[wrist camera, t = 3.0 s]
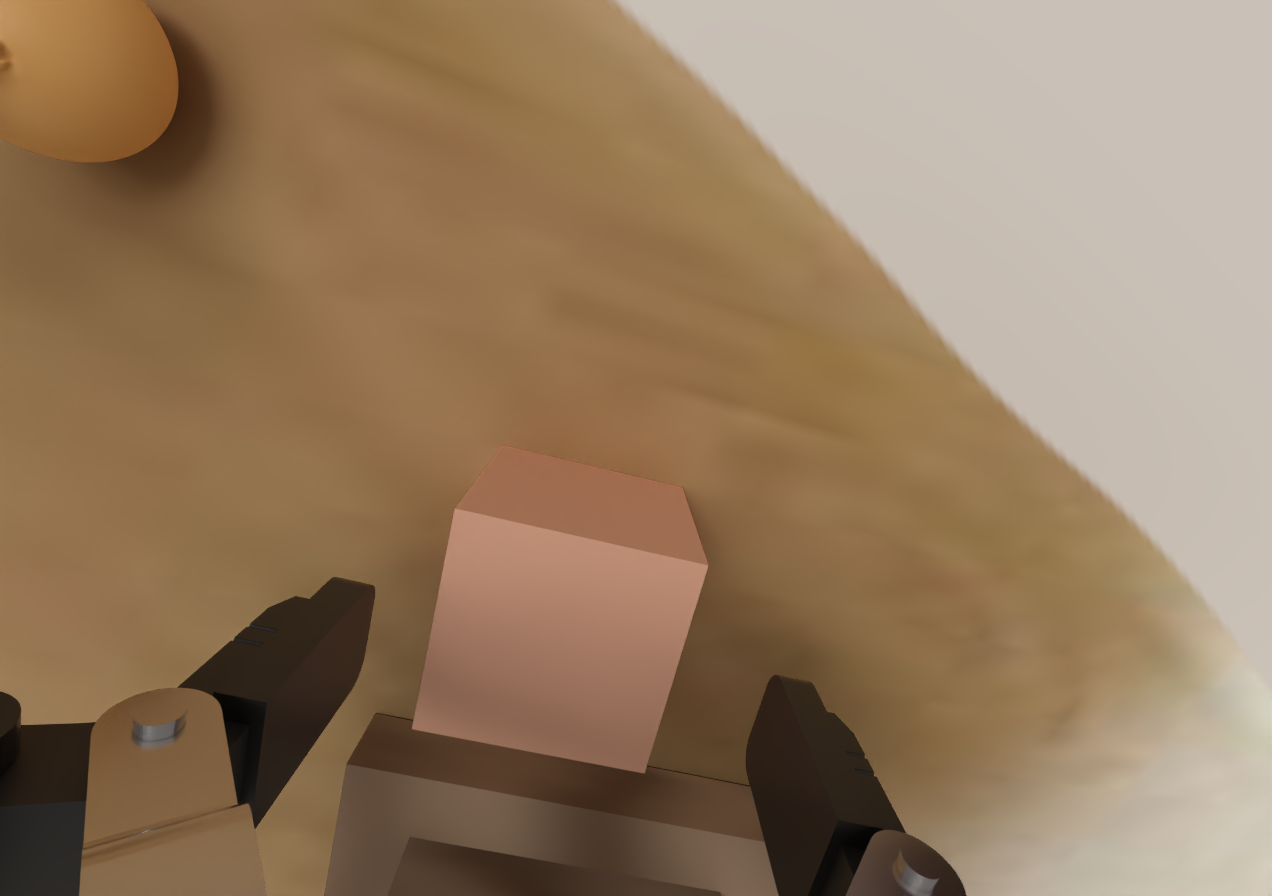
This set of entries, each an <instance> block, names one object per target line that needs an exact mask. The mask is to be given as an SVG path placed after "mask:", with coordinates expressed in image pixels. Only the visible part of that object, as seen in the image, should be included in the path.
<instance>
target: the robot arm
mask: <svg viewBox="0 0 1272 896" xmlns="http://www.w3.org/2000/svg"><path fill="white" fill-rule="evenodd" d="M374 599H375V587H374V586H373V585H370V584H365V583H360V582H356V581H351V580H347V579H342V578H338V577H333V578H331V579H330V580H329V581H328V582H327V583H326V584H325V585H324V586H323V587H322V588H321V589H320V590H319V591H318V592H317V593H315V594H314V595H313V596H312V597H311V598H310V599H307V598H302V597H297V596H295V597H293V598H290V599H288V600H286V601H283V602H281V603H278V604H276V605H274V606H271V607H269V608H268V609H267V610H265V611H264V612H263V613H262V614H261V615H260V616H259V617H257V618H256V619H255V620H254V621H253V622H252V623H251V624H250V626H249V627H246V628H245V629H244V630H243V631H241V632H240V633H239V634H238V635H237V636H236V637H235V638H234V641H230V642H229V643H228V644H226V645H225V646H224V647H223V648H222V649H221V650H220V651H218V652H217V653H216V654H215V655H214V656H213V657H212V658H210V659H209V660H208V661H207V662H206V663H205V664H204V665H202V666H201V667H200V668H199V669H198V670H197V671H196V672H194V673H193V674H192V675H191V676H190V677H189V678H188V679H186V680H185V681H184V682H183V683H182V684H181V685H180V686H178V687H177V688H166V689H158V690H153V691H148V692H145V693H141V694H138V695H135V696H133V697H130V698H128V699H126V700H124V701H122V702H120V703H118V704H116V705H115V706H113V707H111V708H110V709H108V710H107V711H106V712H105V713H104V714H103V715H101V717H100V718H99V719H98V720H97V721H96V722H93V723H76V724H45V725H21V707H20V704H19V702H18V701H17V700H16V699H15V698H14V697H12V696H11V695H9V694H6V693H4V692H0V896H267V892H266V887H265V882H264V876H263V871H262V866H261V860H260V855H259V850H258V844H257V839H256V834H255V828H256V827H257V826H258V824H259V823H260V821H261V820H262V818H263V817H264V815H265V814H266V813H267V811H268V810H269V808H270V807H271V805H272V804H273V803H274V801H275V800H276V798H277V797H278V795H279V794H280V792H281V791H282V790H283V788H284V787H285V785H286V784H287V782H288V781H289V779H290V778H291V777H292V775H293V774H294V772H295V771H296V769H297V768H298V766H299V765H300V764H301V762H302V761H303V759H304V758H305V756H306V755H307V753H308V752H309V751H310V749H311V748H312V746H313V745H314V743H315V742H316V740H317V739H318V738H319V736H320V735H321V733H322V732H323V730H324V729H325V727H326V726H327V725H328V723H329V722H330V720H331V719H332V717H333V716H334V714H335V713H336V712H337V710H338V709H339V707H340V706H341V704H342V703H343V702H344V700H345V699H346V697H347V696H348V694H349V693H350V691H351V690H352V688H353V686H354V685H355V682H356V680H357V678H358V676H359V673H360V671H361V668H362V664H363V661H364V657H365V651H366V645H367V640H368V634H369V628H370V622H371V616H372V610H373V605H374ZM746 771H747V776H748V779H749V783H750V787H751V791H752V795H753V799H754V803H755V806H756V810H757V814H758V818H759V822H760V826H761V830H762V833H763V837H764V841H765V845H766V849H767V853H768V857H769V861H770V864H771V868H772V872H773V876H774V880H775V884H776V888H777V891H778V895H779V896H966V892H965V889H964V886H963V884H962V882H961V880H960V878H959V876H958V875H957V874H956V872H955V871H954V869H953V868H952V867H951V866H950V865H949V863H948V862H947V861H946V860H945V859H944V858H943V857H942V856H941V855H940V854H939V853H937V852H936V851H935V850H934V849H932V848H931V847H930V846H928V845H927V844H925V843H924V842H922V841H921V840H919V839H917V838H915V837H913V836H911V835H909V834H906V832H905V830H904V828H903V826H902V824H901V822H900V821H899V819H898V817H897V815H896V813H895V811H894V809H893V807H892V805H891V803H890V802H889V800H888V798H887V796H886V794H885V792H884V790H883V788H882V786H881V784H880V783H879V781H878V779H877V777H874V771H873V769H872V767H871V766H870V764H869V762H868V760H867V759H865V754H864V752H863V750H862V748H861V747H860V745H859V743H858V741H857V739H856V737H855V735H854V733H853V732H852V731H851V730H850V729H849V728H848V727H847V726H846V725H845V724H844V723H843V722H842V721H841V720H840V719H839V718H838V717H837V716H836V715H835V714H834V713H829V712H827V711H826V709H825V707H824V705H823V703H822V701H821V699H820V697H819V695H818V693H817V691H816V689H815V687H814V685H813V684H812V683H811V682H807V681H802V680H798V679H793V678H789V677H784V676H780V675H774V676H772V677H771V679H770V680H769V682H768V685H767V688H766V690H765V693H764V696H763V699H762V702H761V705H760V708H759V710H758V713H757V716H756V719H755V722H754V725H753V728H752V730H751V733H750V736H749V739H748V744H747V750H746Z"/></svg>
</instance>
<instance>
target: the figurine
mask: <svg viewBox="0 0 1272 896" xmlns="http://www.w3.org/2000/svg"><path fill="white" fill-rule="evenodd" d="M178 89H179V84H178V72H177V67H176V62H175V58H174V55H173V52H172V49H171V46H170V44H169V41H168V39H167V37H166V35H165V33H164V31H163V29H162V27H161V25H160V23H159V22H158V20H157V18H156V17H155V15H154V14H153V12H152V11H151V10H150V8H149V7H148V5H147V4H146V3H145V2H144V0H0V138H1V139H3V140H5V141H7V142H9V143H11V144H13V145H16V146H18V147H20V148H23V149H25V150H28V151H31V152H34V153H37V154H40V155H43V156H47V157H51V158H55V159H60V160H66V161H73V162H107V161H113V160H118V159H122V158H125V157H128V156H131V155H134V154H136V153H138V152H140V151H142V150H144V149H145V148H147V147H148V146H150V145H151V144H152V143H154V142H155V141H156V140H157V139H158V138H159V137H160V136H161V135H162V134H163V132H164V131H165V130H166V128H167V127H168V125H169V123H170V121H171V119H172V117H173V115H174V112H175V109H176V105H177V100H178Z"/></svg>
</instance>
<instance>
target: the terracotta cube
mask: <svg viewBox="0 0 1272 896" xmlns="http://www.w3.org/2000/svg"><path fill="white" fill-rule="evenodd" d="M708 566H709V565H708V562H707V559H706V556H705V553H704V550H703V547H702V544H701V541H700V538H699V535H698V532H697V529H696V526H695V524H694V521H693V518H692V515H691V512H690V509H689V506H688V503H687V500H686V497H685V494H684V491H683V488H682V487H678V486H674V485H670V484H666V483H661V482H657V481H653V480H649V479H645V478H640V477H636V476H632V475H628V474H623V473H619V472H615V471H611V470H606V469H602V468H598V467H594V466H590V465H585V464H581V463H577V462H573V461H568V460H564V459H560V458H556V457H552V456H547V455H543V454H539V453H535V452H530V451H526V450H522V449H518V448H513V447H509V446H505V445H502V446H501V447H500V448H499V450H498V451H497V452H496V454H495V455H494V456H493V458H492V459H491V460H490V462H489V463H488V464H487V466H486V467H485V468H484V470H483V471H482V473H481V474H480V475H479V477H478V478H477V479H476V481H475V482H474V483H473V485H472V486H471V487H470V489H469V490H468V491H467V493H466V494H465V495H464V497H463V498H462V499H461V501H460V502H459V503H458V505H457V506H456V507H455V510H454V515H453V520H452V525H451V530H450V536H449V541H448V546H447V551H446V556H445V561H444V566H443V571H442V577H441V582H440V587H439V592H438V597H437V602H436V607H435V612H434V618H433V623H432V628H431V633H430V638H429V643H428V648H427V654H426V659H425V664H424V669H423V674H422V679H421V684H420V689H419V695H418V700H417V705H416V710H415V715H414V720H413V725H412V729H414V730H419V731H424V732H429V733H435V734H440V735H445V736H450V737H456V738H461V739H466V740H471V741H477V742H482V743H487V744H492V745H498V746H503V747H508V748H513V749H518V750H524V751H529V752H534V753H539V754H545V755H550V756H555V757H560V758H566V759H571V760H576V761H581V762H587V763H592V764H597V765H602V766H608V767H613V768H618V769H623V770H629V771H634V772H639V773H644V774H645V770H646V767H647V764H648V761H649V757H650V754H651V751H652V748H653V744H654V741H655V738H656V735H657V731H658V728H659V725H660V722H661V718H662V715H663V712H664V709H665V705H666V702H667V699H668V696H669V692H670V689H671V686H672V683H673V679H674V676H675V673H676V670H677V667H678V663H679V660H680V657H681V654H682V650H683V647H684V644H685V641H686V637H687V634H688V631H689V628H690V624H691V621H692V618H693V615H694V611H695V608H696V605H697V602H698V598H699V595H700V592H701V589H702V585H703V582H704V579H705V576H706V573H707V569H708Z"/></svg>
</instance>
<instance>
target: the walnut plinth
mask: <svg viewBox="0 0 1272 896" xmlns="http://www.w3.org/2000/svg"><path fill="white" fill-rule="evenodd" d="M412 725H413V721H411V720H406V719H401V718H396V717H391V716H386V715H380V714H375V715H374V717H373V719H372V720H371V722H370V724H369V726H368V728H367V729H366V731H365V733H364V735H363V736H362V738H361V740H360V742H359V743H358V745H357V747H356V749H355V750H354V752H353V754H352V756H351V757H350V759H349V761H348V763H347V765H346V771H345V776H344V782H343V788H342V794H341V800H340V806H339V812H338V818H337V824H336V829H335V835H334V841H333V847H332V853H331V859H330V865H329V871H328V876H327V882H326V888H325V894H324V896H779V895H778V891H777V888H776V884H775V880H774V876H773V872H772V868H771V864H770V861H769V857H768V853H767V849H766V845H765V841H764V837H763V833H762V830H761V826H760V822H759V818H758V814H757V810H756V806H755V803H754V799H753V795H752V791H751V787H750V786H745V785H739V784H734V783H729V782H724V781H719V780H714V779H709V778H704V777H698V776H693V775H688V774H683V773H678V772H673V771H668V770H663V769H657V768H652V767H646V770H645V774H644V773H639V772H634V771H629V770H623V769H618V768H613V767H608V766H602V765H597V764H592V763H587V762H581V761H576V760H571V759H566V758H560V757H555V756H550V755H545V754H539V753H534V752H529V751H524V750H518V749H513V748H508V747H503V746H498V745H492V744H487V743H482V742H477V741H471V740H466V739H461V738H456V737H450V736H445V735H440V734H435V733H429V732H424V731H419V730H414V729H412Z"/></svg>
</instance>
